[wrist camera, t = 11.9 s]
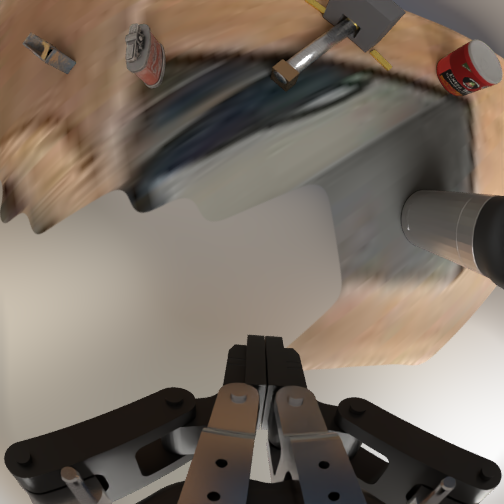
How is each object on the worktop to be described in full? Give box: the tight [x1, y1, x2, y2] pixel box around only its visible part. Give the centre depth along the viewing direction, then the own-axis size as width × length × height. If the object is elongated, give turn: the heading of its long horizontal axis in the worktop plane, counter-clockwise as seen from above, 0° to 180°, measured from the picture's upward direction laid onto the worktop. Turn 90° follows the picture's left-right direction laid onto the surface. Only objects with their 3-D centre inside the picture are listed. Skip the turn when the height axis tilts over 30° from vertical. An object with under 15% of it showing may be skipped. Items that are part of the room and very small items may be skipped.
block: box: [323, 0, 406, 52], centre depth 27 cm, size 4×9×11 cm, turn 45°
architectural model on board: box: [23, 33, 76, 74], centre depth 29 cm, size 11×3×10 cm, turn 48°
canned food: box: [437, 40, 502, 96], centre depth 28 cm, size 8×8×11 cm
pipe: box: [271, 0, 392, 91], centre depth 32 cm, size 23×18×4 cm
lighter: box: [125, 23, 165, 88], centre depth 30 cm, size 8×3×10 cm, turn 2°
